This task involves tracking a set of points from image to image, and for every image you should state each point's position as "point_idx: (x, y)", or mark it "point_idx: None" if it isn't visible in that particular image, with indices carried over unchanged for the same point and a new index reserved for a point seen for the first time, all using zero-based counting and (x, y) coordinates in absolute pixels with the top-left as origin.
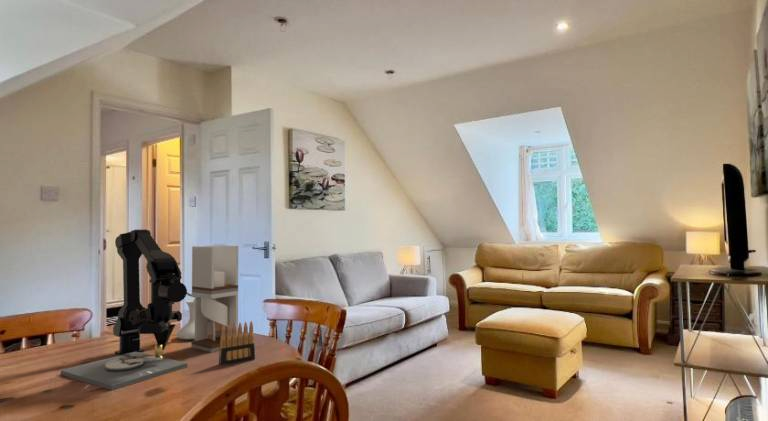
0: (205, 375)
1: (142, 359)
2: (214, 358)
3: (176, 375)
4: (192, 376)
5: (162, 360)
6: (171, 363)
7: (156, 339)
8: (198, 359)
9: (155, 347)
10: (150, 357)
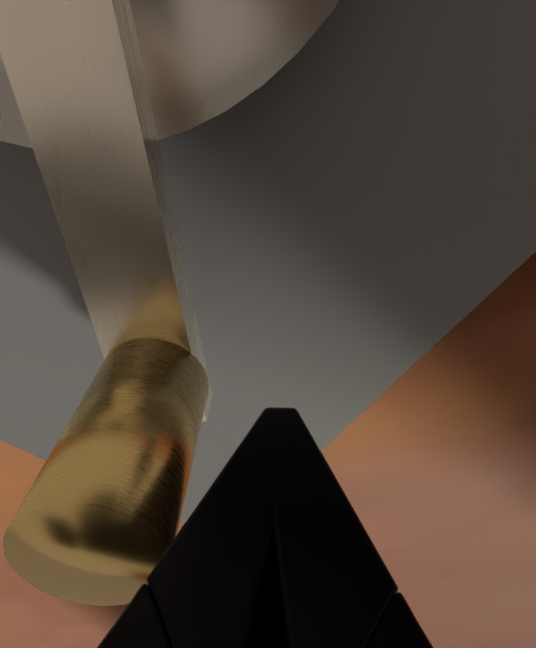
0: (37, 621)
1: (43, 150)
2: (445, 607)
3: (3, 491)
4: (3, 574)
5: (358, 307)
6: (212, 434)
7: (111, 636)
8: (456, 530)
9: (34, 483)
10: (101, 281)
